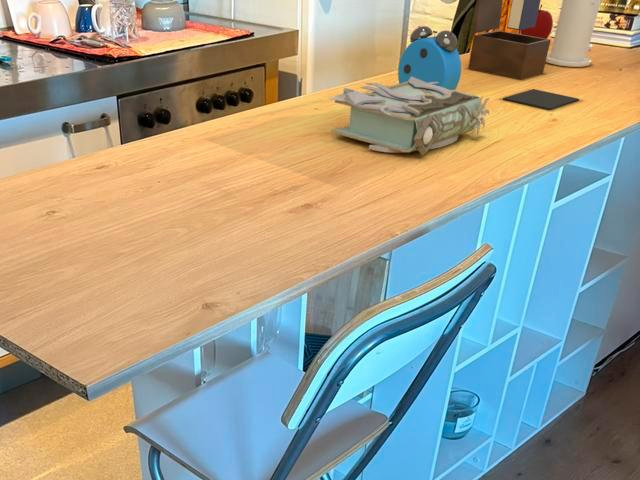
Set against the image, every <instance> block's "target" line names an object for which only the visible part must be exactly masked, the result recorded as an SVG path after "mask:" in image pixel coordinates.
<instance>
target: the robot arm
mask: <svg viewBox="0 0 640 480" xmlns="http://www.w3.org/2000/svg"><path fill="white" fill-rule="evenodd" d="M601 1H602V0H562V3H561V7H560V12H559V14H558V20H557V24H556V27H555V34H554V37H553V41H552V45H551V49H550V53H548V54H547V58H546V62H545V63H547V64H550V65H554V66H560V67H569V68H570V67H571V68H585V67H588V66H590V65H591V63H592V59H591V58H590V57H587V56H588V52H589V53H590V52H591V51H592V50H593V44H592V43H591V40H592V37H593V32H594V28H595V25H596V21H597V17H598V14H599V10H600V6H601V3H602V2H601Z"/></svg>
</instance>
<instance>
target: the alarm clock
mask: <svg viewBox="0 0 640 480" xmlns="http://www.w3.org/2000/svg"><path fill="white" fill-rule="evenodd" d="M433 34H434V36H432V35H433ZM409 41H410V44H408V46H407V47H405V50H404V51H403V53H402V54H401V57H400V58H399V63H398V71H397V79H398V84H400V83H403V82H407V81H408V80H409V79H410V78H411V76H412V77H414V78H417V79H419V80H422V81H424V82H427V83H430V82H439V83H436V84H432V85H436V86H440V87H443V88H446V89H448V90H457V88H458V85H459V83H460V80H461V74H462V61H461V57H460V56H461V55H460V53H459V51H458V48H457V47H458V38H457V36H456V34H455V33H453V31H450V30H447V29H446V30H445V29H443V30H441V31H439V32H438V31H437V30H432V28H430V27H429V26H426V25H421V26H420V25H418V26H417V27H416V28H415V29H414V30H413V31H412V32H411V34H410V35H409Z"/></svg>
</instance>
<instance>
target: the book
mask: <svg viewBox="0 0 640 480" xmlns="http://www.w3.org/2000/svg"><path fill="white" fill-rule="evenodd" d="M541 2H542V1H541V0H511V5H510V9H509V16H508V21H507V26H506V29H508V30H514V31H521V30H523V29H527V28H531V27H535V25H536V20H537V15H538V10H540V6H541Z"/></svg>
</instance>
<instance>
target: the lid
mask: <svg viewBox="0 0 640 480" xmlns="http://www.w3.org/2000/svg"><path fill="white" fill-rule="evenodd" d="M503 2H504V0H476V3H475V10H474V11H475V12H474V20H473V21H474V22H473V31H472V34H479V33H484V32H487V31H488V32H490V31H495V30H499V29H500V26H501V18H502V9H503Z"/></svg>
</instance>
